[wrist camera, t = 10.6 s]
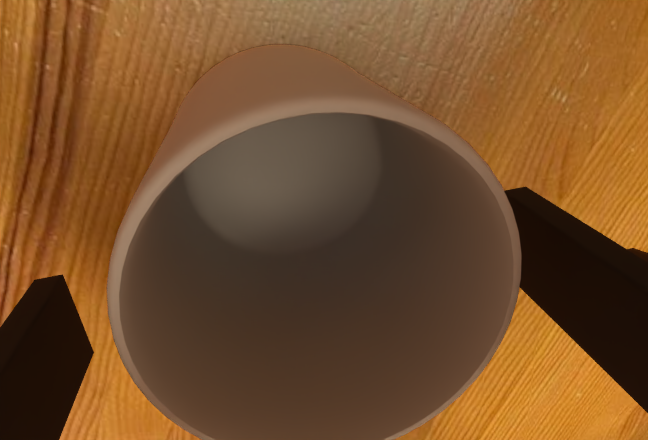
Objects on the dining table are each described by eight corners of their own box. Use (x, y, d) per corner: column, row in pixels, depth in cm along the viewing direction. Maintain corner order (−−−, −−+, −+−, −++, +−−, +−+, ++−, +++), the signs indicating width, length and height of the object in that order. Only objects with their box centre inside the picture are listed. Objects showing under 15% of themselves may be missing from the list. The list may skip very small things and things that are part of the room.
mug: (148, 55, 18) (34, 123, 8) (383, 31, 19) (549, 65, 9) (208, 333, 23) (186, 592, 13) (392, 303, 24) (505, 523, 14)
